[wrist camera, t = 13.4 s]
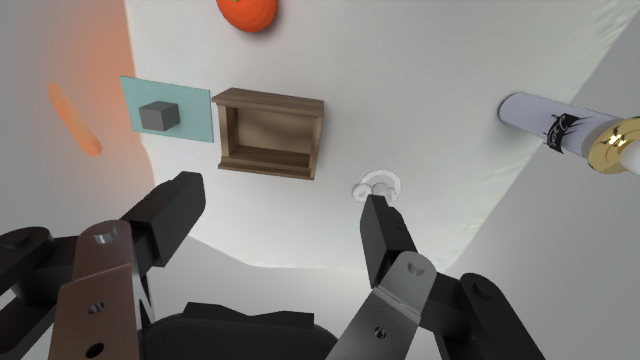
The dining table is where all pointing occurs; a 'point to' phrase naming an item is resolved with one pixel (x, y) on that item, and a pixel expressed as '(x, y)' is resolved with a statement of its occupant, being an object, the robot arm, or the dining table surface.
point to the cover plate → (173, 94)
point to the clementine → (248, 13)
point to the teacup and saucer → (377, 187)
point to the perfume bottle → (578, 131)
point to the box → (269, 133)
